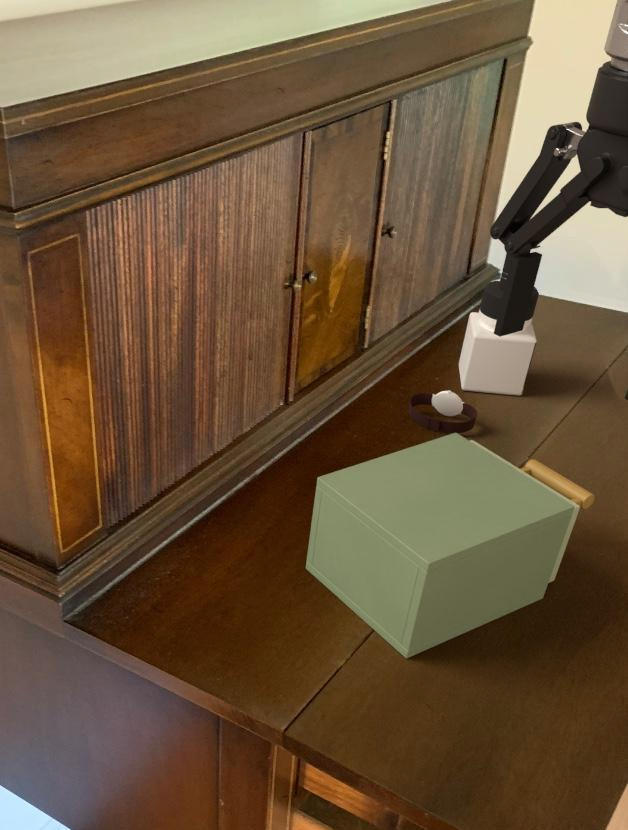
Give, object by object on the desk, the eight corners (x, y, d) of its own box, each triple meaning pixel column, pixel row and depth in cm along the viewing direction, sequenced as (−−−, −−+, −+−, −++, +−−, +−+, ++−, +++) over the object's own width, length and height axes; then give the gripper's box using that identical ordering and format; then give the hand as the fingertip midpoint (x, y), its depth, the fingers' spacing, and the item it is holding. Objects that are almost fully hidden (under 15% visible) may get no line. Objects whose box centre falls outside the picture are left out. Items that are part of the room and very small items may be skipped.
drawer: (501, 493, 92) (521, 423, 86) (602, 559, 83) (631, 486, 78) (335, 554, 83) (346, 480, 78) (429, 634, 75) (449, 558, 70)
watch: (479, 424, 104) (486, 395, 102) (465, 442, 101) (472, 412, 99) (414, 406, 107) (420, 377, 105) (399, 422, 104) (405, 393, 102)
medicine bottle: (522, 396, 110) (549, 298, 102) (461, 391, 110) (483, 293, 103) (516, 370, 115) (541, 275, 107) (457, 365, 116) (479, 270, 108)
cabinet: (435, 520, 89) (456, 432, 83) (543, 598, 80) (575, 506, 74) (305, 568, 83) (317, 477, 77) (406, 659, 74) (429, 563, 68)
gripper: (483, 39, 68) (430, 317, 81) (806, 107, 51) (672, 441, 65) (554, 32, 71) (491, 301, 84) (882, 94, 54) (738, 416, 68)
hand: (570, 362), depth 75 cm, fingers open, 13 cm apart
